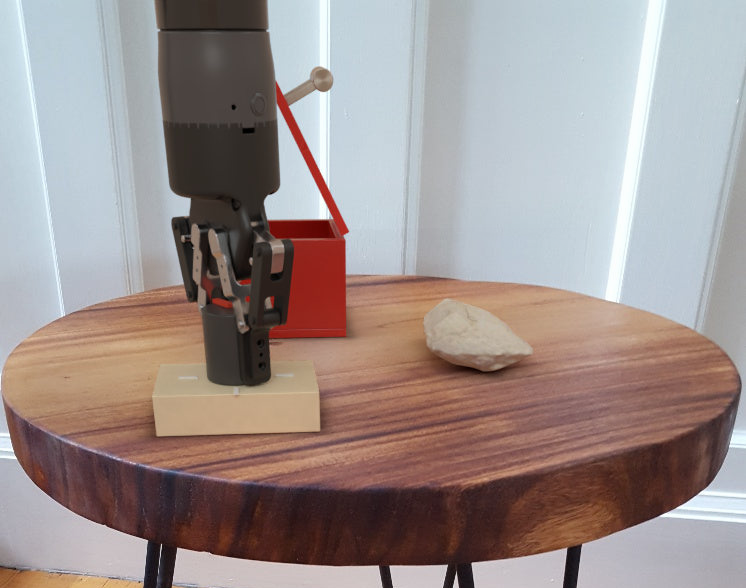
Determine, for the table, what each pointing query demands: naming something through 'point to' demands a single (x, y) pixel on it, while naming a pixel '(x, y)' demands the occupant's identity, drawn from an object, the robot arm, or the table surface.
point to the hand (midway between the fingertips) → (239, 372)
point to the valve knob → (221, 342)
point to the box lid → (322, 83)
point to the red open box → (313, 279)
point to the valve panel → (236, 402)
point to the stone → (472, 337)
